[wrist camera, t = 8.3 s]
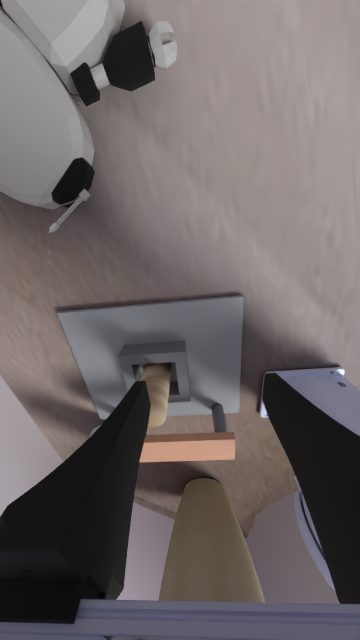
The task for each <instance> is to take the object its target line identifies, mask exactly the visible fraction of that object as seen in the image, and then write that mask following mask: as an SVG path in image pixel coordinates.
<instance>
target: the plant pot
mask: <svg viewBox="0 0 360 640" xmlns="http://www.w3.org/2000/svg"><path fill="white" fill-rule="evenodd" d="M159 601H205V602H261V603H265V600H264V596H263V593H262V590H261V587H260V584H259V580H258V577H257V574H256V571H255V568H254V565H253V562H252V559H251V556H250V553H249V550H248V548H247V545H246V542H245V539H244V536H243V534H242V531H241V528H240V526H239V523H238V520H237V518H236V515H235V513H234V510H233V508H232V506H231V503H230V501H229V499H228V496H227V494H226V492H225V490H224V488H223V486H222V484H221V483H219V482H218V481H216V480H213V479H208V478H199V479H194V480H192V481H190V482H188V483H187V484H186V486H185V489H184V492H183V495H182V498H181V501H180V505H179V508H178V512H177V516H176V519H175V523H174V527H173V531H172V535H171V540H170V544H169V549H168V553H167V558H166V563H165V568H164V573H163V578H162V584H161V590H160V595H159Z"/></svg>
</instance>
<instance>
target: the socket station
mask: <svg viewBox="0 0 360 640" xmlns="http://www.w3.org/2000/svg"><path fill="white" fill-rule="evenodd" d="M243 307H244V296H243V295H236V296H225V297H214V298H203V299H191V300H180V301H169V302H157V303H146V304H135V305H124V306H112V307H101V308H90V309H79V310H67V311H59V312H58V313H57V315H58V318H59V320H60V322H61V325H62V327H63V330H64V332H65V335H66V337H67V339H68V342H69V344H70V347H71V349H72V352H73V354H74V356H75V359H76V361H77V364H78V366H79V369H80V371H81V373H82V376H83V378H84V381H85V383H86V385H87V388H88V390H89V393H90V395H91V398H92V400H93V402H94V405H95V407H96V410H97V412H98V415H99V417H100V419H107V418H108V416H109V415H110V414H111V413H112V412H113V410H114V409H115V408H116V407H117V405H118V404H119V403H120V401H121V400H122V399H123V397H124V396H125V395H126V393H127V392H128V391H129V389H130V388H131V386H132V385H133V384H134V382H135V381H140V380H141V376H142V373H143V370H144V367H145V364H150V363H165V362H171V365H172V367H171V377H170V386H169V396H168V406H167V416H183V415H204V414H212V417H213V423H214V430H215V433H194V434H170V435H146V436H145V440H144V445H143V449H142V453H141V457H140V462H167V461H199V460H230V459H235V436H234V432H228V428H227V424H226V419H225V413H239V398H240V375H241V352H242V329H243Z"/></svg>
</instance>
